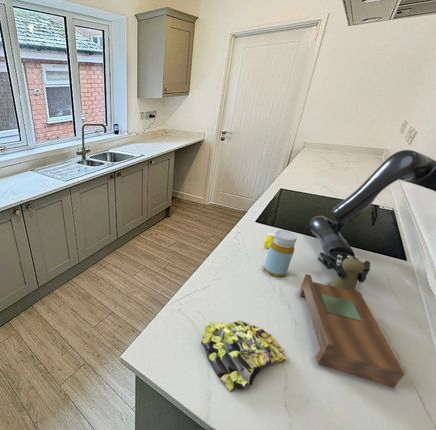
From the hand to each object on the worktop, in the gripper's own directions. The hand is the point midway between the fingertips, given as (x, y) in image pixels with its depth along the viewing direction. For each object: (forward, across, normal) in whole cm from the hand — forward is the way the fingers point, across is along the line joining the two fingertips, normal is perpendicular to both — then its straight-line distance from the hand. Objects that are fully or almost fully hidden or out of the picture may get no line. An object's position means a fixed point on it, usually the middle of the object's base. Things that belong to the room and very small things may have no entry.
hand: (352, 278), depth 79 cm
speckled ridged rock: (+34, -29, +7) cm, 45 cm away
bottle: (-5, -19, +7) cm, 21 cm away
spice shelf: (+17, -6, +6) cm, 19 cm away
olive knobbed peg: (-3, 0, +7) cm, 7 cm away
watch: (-21, -20, +7) cm, 30 cm away
